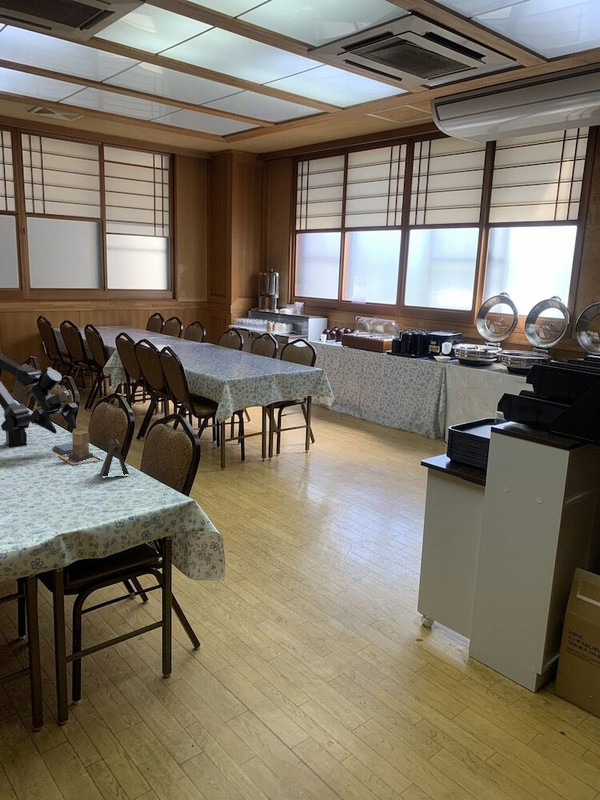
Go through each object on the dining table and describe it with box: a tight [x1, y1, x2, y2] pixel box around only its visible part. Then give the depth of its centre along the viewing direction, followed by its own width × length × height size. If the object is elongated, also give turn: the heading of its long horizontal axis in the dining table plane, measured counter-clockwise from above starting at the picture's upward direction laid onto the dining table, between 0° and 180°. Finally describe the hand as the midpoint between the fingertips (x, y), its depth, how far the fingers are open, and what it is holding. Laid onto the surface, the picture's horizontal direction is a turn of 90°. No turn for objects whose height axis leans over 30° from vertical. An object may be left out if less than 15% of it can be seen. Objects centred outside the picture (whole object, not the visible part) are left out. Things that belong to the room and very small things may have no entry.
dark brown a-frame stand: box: [100, 438, 130, 477], centre depth 207 cm, size 9×6×12 cm, turn 112°
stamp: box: [68, 430, 94, 462], centre depth 223 cm, size 6×6×10 cm
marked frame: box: [58, 451, 98, 466], centre depth 224 cm, size 12×13×1 cm
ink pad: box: [52, 442, 73, 455], centre depth 234 cm, size 10×10×2 cm
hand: (65, 430), depth 226 cm, fingers open, 9 cm apart
